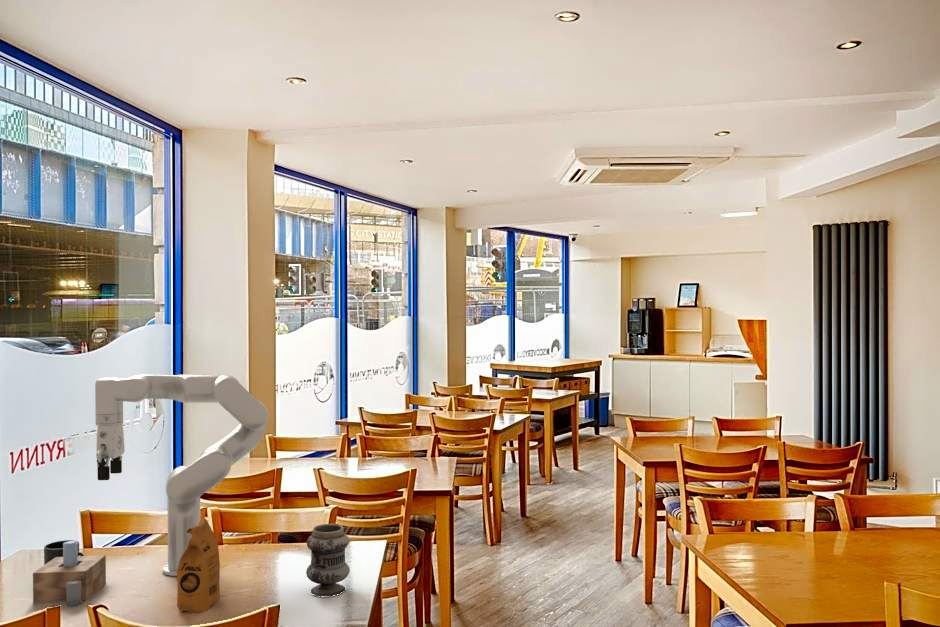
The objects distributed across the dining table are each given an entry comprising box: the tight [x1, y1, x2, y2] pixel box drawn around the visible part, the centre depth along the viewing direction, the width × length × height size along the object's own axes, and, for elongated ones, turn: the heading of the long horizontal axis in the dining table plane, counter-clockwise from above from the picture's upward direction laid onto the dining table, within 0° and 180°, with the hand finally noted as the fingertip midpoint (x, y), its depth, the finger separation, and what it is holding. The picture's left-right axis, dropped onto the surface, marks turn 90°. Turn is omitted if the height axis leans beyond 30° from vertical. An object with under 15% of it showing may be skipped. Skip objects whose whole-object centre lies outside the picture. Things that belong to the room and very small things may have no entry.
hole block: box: [32, 554, 107, 603], centre depth 218 cm, size 14×14×8 cm
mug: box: [43, 539, 85, 566], centre depth 233 cm, size 9×12×9 cm
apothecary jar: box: [306, 523, 351, 598], centre depth 216 cm, size 12×12×18 cm
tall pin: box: [63, 540, 78, 567], centre depth 218 cm, size 4×4×14 cm
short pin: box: [66, 580, 83, 608], centre depth 208 cm, size 4×4×6 cm
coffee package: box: [176, 517, 221, 613], centre depth 207 cm, size 10×12×22 cm
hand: (110, 476), depth 230 cm, fingers open, 9 cm apart
